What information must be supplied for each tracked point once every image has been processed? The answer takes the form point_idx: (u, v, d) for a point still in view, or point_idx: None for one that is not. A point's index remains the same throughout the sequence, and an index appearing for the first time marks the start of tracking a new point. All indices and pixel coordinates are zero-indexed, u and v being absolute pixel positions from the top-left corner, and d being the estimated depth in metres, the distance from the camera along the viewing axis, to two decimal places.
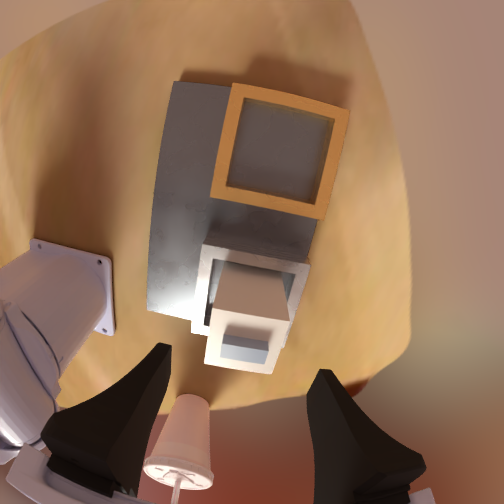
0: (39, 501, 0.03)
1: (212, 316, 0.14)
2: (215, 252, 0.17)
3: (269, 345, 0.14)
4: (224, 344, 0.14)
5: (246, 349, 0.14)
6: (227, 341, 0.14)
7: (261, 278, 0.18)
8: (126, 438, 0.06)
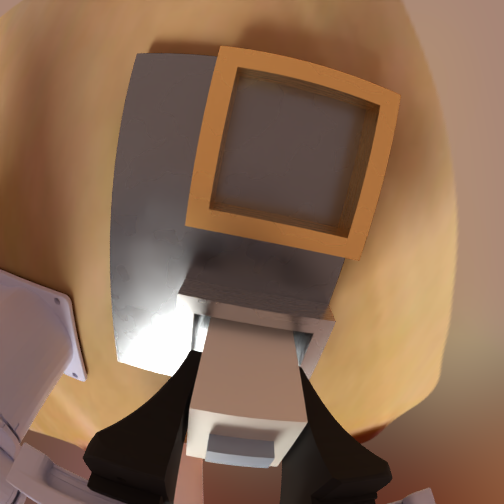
0: (39, 501, 0.03)
1: (190, 416, 0.08)
2: (197, 305, 0.12)
3: (275, 444, 0.09)
4: (210, 452, 0.08)
5: (242, 456, 0.08)
6: (215, 447, 0.08)
7: (264, 340, 0.12)
8: (174, 451, 0.06)
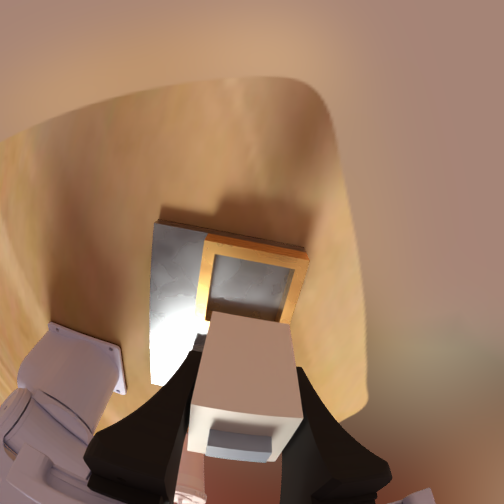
0: (39, 501, 0.03)
1: (192, 412, 0.09)
2: None
3: (273, 439, 0.09)
4: (210, 446, 0.08)
5: (241, 451, 0.08)
6: (215, 442, 0.08)
7: (262, 340, 0.13)
8: (174, 451, 0.06)
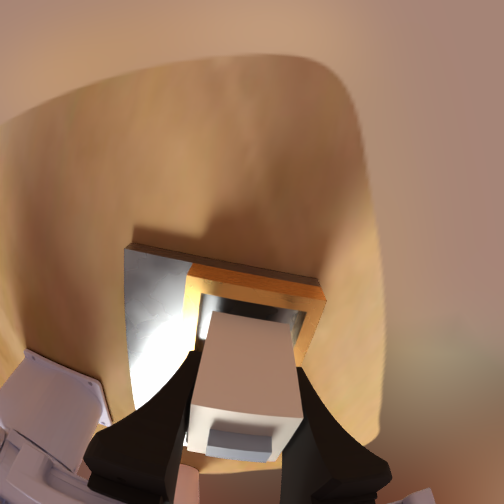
0: (39, 501, 0.03)
1: (192, 412, 0.08)
2: None
3: (273, 439, 0.09)
4: (210, 446, 0.08)
5: (240, 451, 0.08)
6: (215, 442, 0.08)
7: (263, 340, 0.13)
8: (174, 451, 0.06)
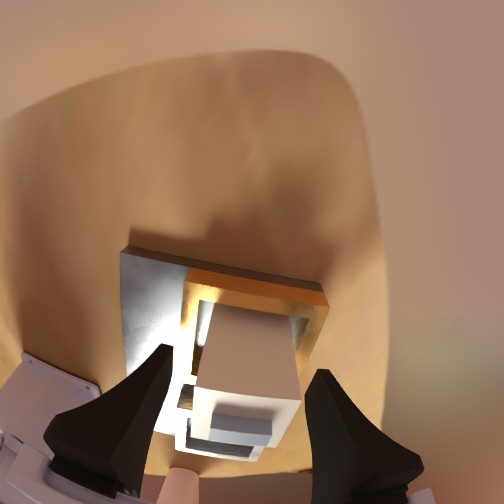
0: (39, 501, 0.03)
1: (195, 395, 0.09)
2: (188, 413, 0.16)
3: (273, 423, 0.10)
4: (213, 429, 0.09)
5: (242, 434, 0.09)
6: (217, 425, 0.09)
7: (262, 328, 0.13)
8: (129, 439, 0.06)
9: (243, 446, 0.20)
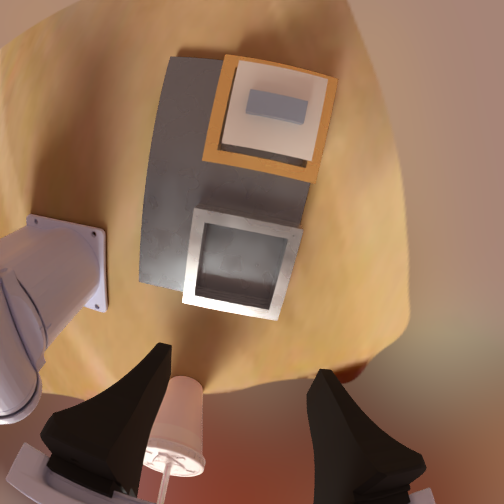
0: (39, 501, 0.03)
1: (238, 70, 0.10)
2: (207, 216, 0.17)
3: (306, 110, 0.11)
4: (253, 90, 0.10)
5: (280, 96, 0.10)
6: (257, 91, 0.10)
7: None
8: (126, 438, 0.06)
9: (262, 300, 0.21)
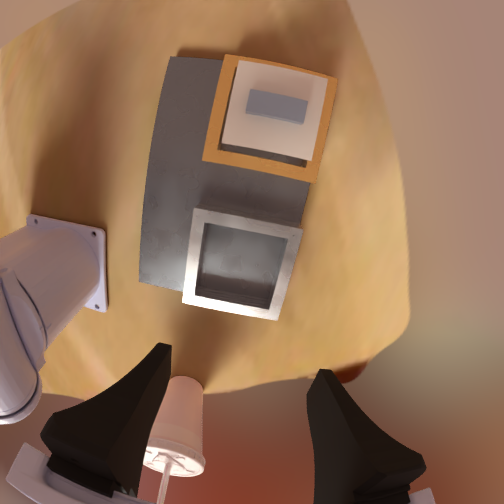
0: (39, 501, 0.03)
1: (238, 70, 0.10)
2: (207, 216, 0.17)
3: (306, 110, 0.11)
4: (253, 89, 0.10)
5: (280, 96, 0.10)
6: (256, 91, 0.10)
7: None
8: (126, 438, 0.06)
9: (262, 300, 0.21)
